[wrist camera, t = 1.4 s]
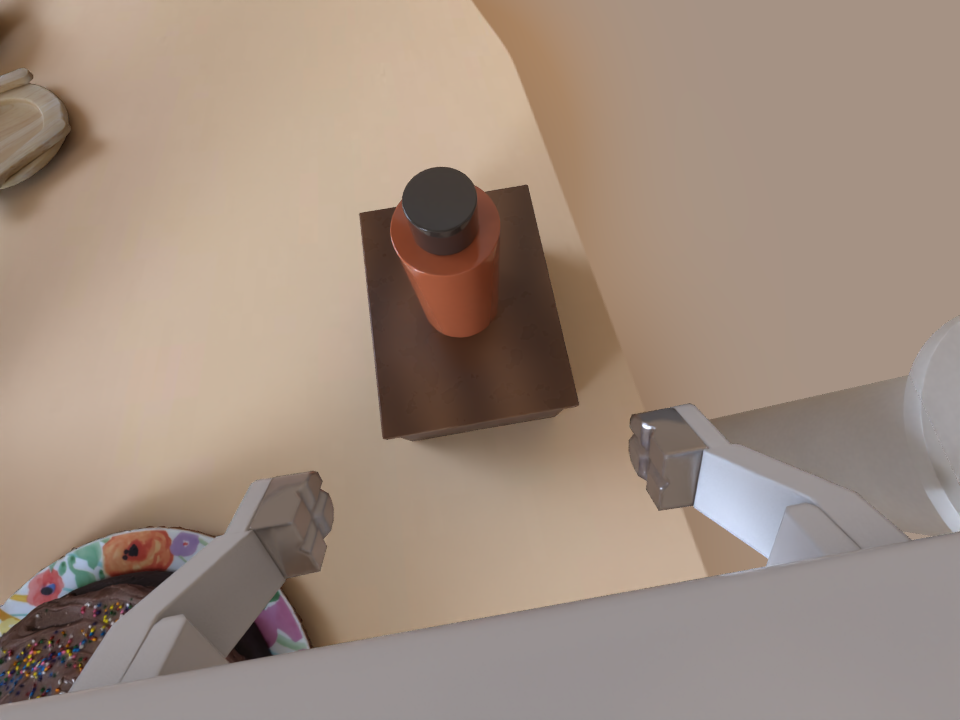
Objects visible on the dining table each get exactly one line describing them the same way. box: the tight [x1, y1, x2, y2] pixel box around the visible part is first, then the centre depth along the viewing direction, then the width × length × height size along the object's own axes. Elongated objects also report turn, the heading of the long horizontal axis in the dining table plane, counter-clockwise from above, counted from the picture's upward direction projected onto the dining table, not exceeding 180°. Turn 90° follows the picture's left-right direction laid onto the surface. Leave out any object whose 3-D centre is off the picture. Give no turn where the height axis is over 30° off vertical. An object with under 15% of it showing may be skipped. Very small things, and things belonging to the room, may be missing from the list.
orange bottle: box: [390, 167, 501, 337], centre depth 22 cm, size 5×5×11 cm
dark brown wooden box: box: [359, 185, 579, 441], centre depth 32 cm, size 13×17×8 cm
